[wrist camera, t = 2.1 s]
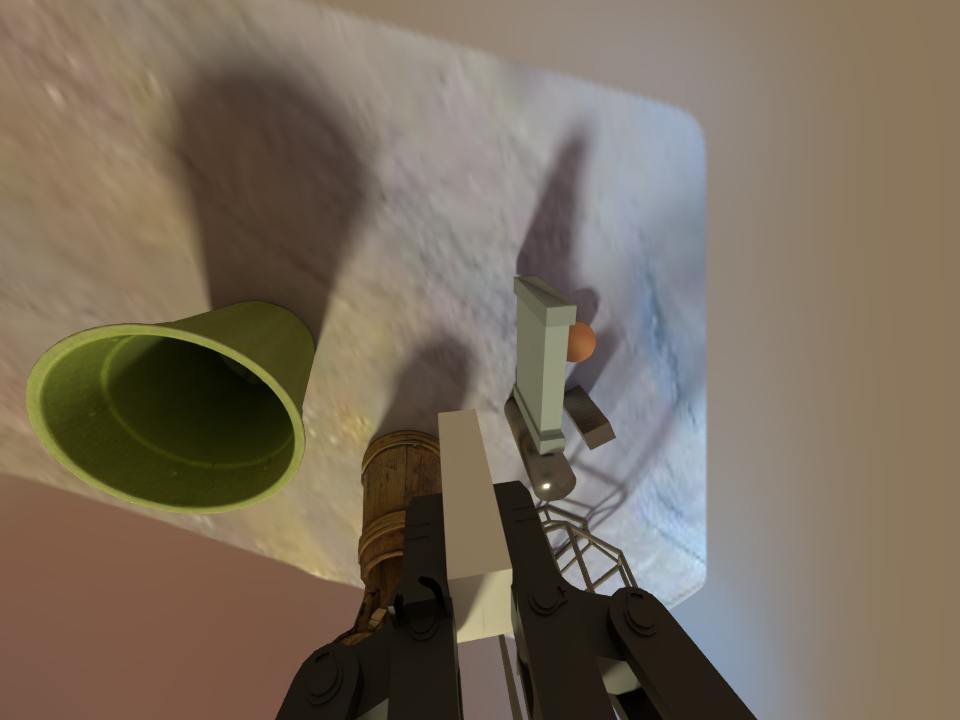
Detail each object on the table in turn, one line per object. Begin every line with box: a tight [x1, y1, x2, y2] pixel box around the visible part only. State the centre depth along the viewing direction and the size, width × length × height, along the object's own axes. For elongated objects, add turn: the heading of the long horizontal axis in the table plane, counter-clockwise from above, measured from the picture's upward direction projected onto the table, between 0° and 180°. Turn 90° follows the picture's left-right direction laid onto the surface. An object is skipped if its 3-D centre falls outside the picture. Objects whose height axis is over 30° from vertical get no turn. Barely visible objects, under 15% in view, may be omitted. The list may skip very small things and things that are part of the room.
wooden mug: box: [332, 431, 442, 646], centre depth 27 cm, size 9×14×18 cm, turn 143°
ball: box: [566, 321, 596, 362], centre depth 29 cm, size 4×4×4 cm
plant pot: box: [25, 301, 315, 514], centre depth 22 cm, size 12×12×11 cm
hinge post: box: [504, 396, 576, 501], centre depth 29 cm, size 3×3×10 cm
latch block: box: [563, 385, 616, 450], centre depth 31 cm, size 2×2×6 cm
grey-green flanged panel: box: [514, 275, 577, 454], centre depth 26 cm, size 11×2×8 cm, turn 2°
